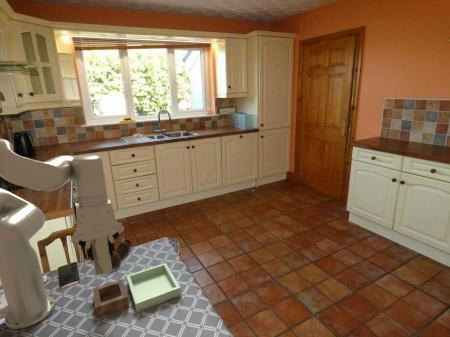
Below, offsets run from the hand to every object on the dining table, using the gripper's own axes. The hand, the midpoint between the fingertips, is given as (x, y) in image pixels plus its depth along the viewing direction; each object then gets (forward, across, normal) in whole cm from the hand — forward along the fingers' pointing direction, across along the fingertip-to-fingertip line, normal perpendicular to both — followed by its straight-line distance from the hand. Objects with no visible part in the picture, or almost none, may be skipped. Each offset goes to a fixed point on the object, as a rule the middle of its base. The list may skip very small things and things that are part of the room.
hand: (101, 255), depth 83 cm
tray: (+16, +14, -1) cm, 21 cm away
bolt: (+17, +8, +27) cm, 33 cm away
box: (+5, 0, 0) cm, 5 cm away
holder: (+16, +1, 0) cm, 16 cm away
